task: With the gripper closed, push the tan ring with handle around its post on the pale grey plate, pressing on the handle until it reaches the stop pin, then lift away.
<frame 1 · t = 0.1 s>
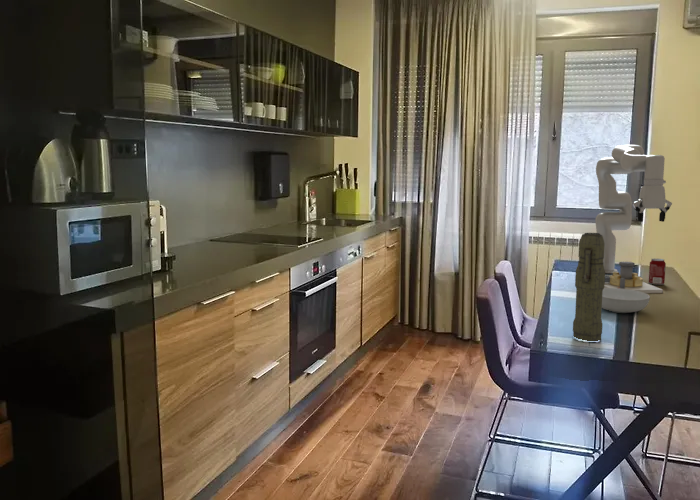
hand: (651, 221, 265), 31 cm above the table, tool pointing down, fingers open, 9 cm apart
soda can: (656, 284, 280), on the table
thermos: (586, 339, 194), on the table
tan ring with handle: (613, 278, 274), point 4 cm above the table, hinge at 0.0°
serving bowl: (619, 310, 231), on the table
hub plate: (625, 287, 273), on the table
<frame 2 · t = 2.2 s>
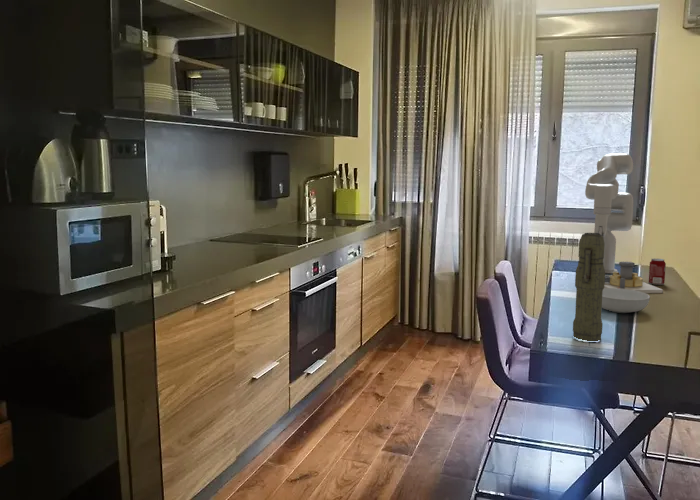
hand: (600, 249, 279), 16 cm above the table, tool pointing down, fingers closed
nothing on the table moved.
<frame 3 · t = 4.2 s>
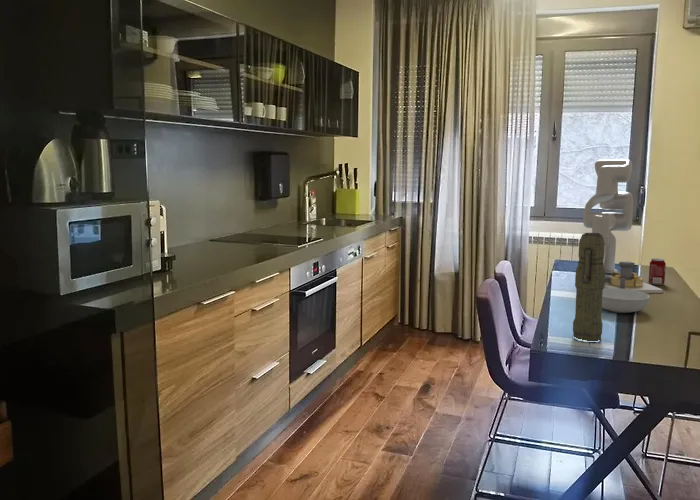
hand: (598, 279, 279), 3 cm above the table, tool pointing down, fingers closed
tan ring with handle: (613, 278, 274), point 4 cm above the table, hinge at 3.7°, touching gripper
everything else where it was.
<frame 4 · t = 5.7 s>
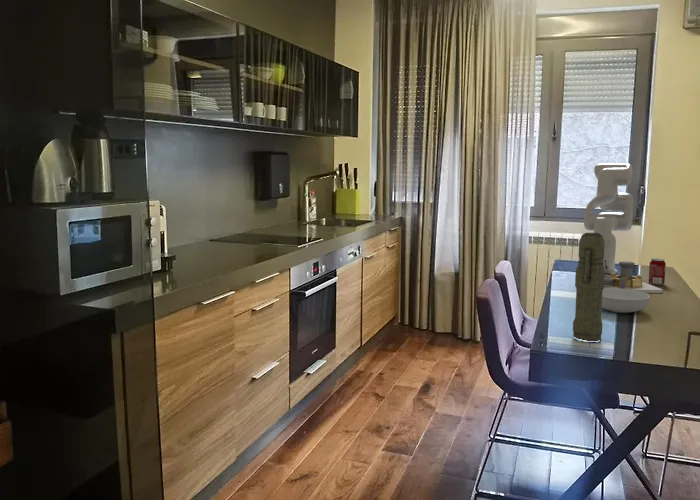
hand: (599, 283, 272), 2 cm above the table, tool pointing down, fingers closed
tan ring with handle: (616, 279, 271), point 4 cm above the table, hinge at 37.5°, touching gripper
everything else where it was.
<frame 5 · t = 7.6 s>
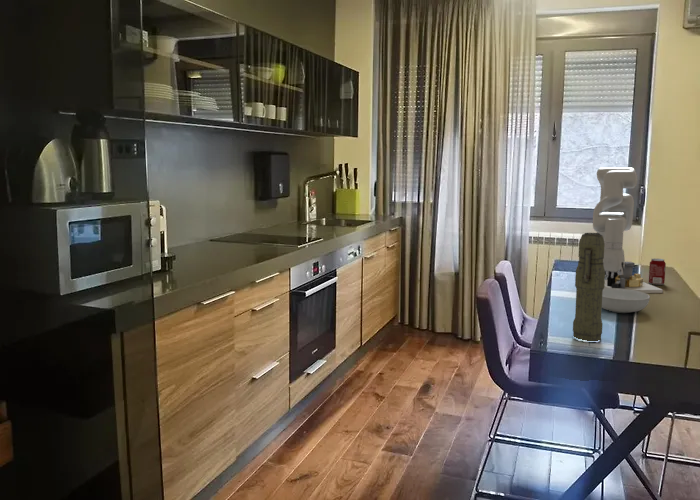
hand: (610, 286, 265), 2 cm above the table, tool pointing down, fingers closed
tan ring with handle: (622, 280, 268), point 4 cm above the table, hinge at 70.0°, touching gripper, hub plate
everything else where it was.
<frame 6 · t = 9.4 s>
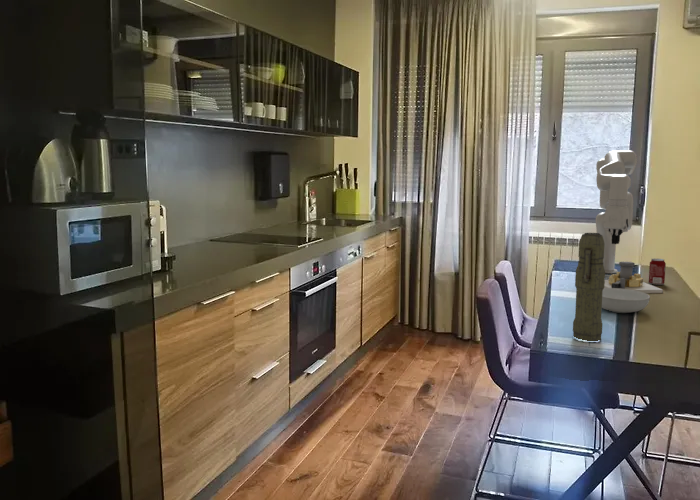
hand: (615, 243, 267), 21 cm above the table, tool pointing down, fingers closed
tan ring with handle: (622, 280, 268), point 4 cm above the table, hinge at 70.0°, touching hub plate
everything else where it was.
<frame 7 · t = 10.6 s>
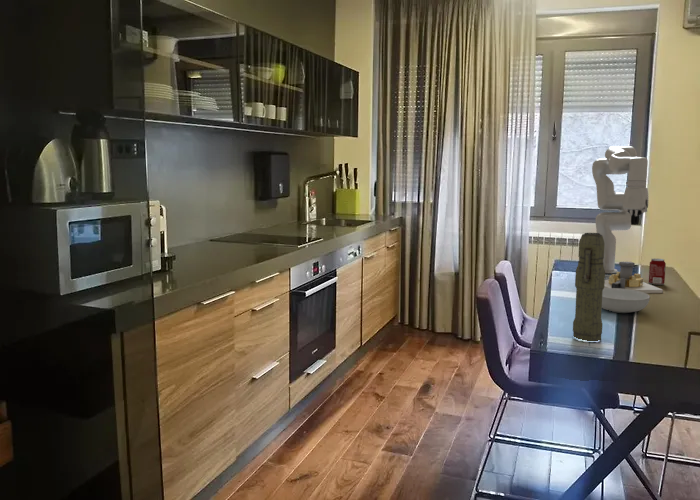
hand: (634, 224, 272), 29 cm above the table, tool pointing down, fingers closed
nothing on the table moved.
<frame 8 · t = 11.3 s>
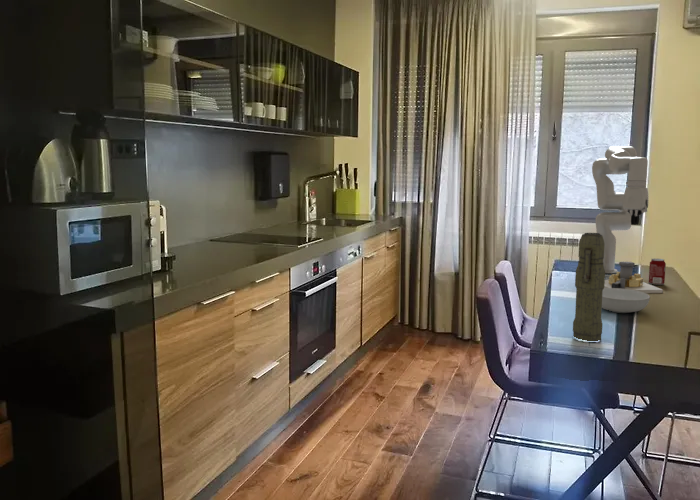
hand: (634, 224, 272), 29 cm above the table, tool pointing down, fingers closed
nothing on the table moved.
at the end: tan ring with handle at +70° (first picture: +0°); tan ring with handle touching hub plate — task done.
